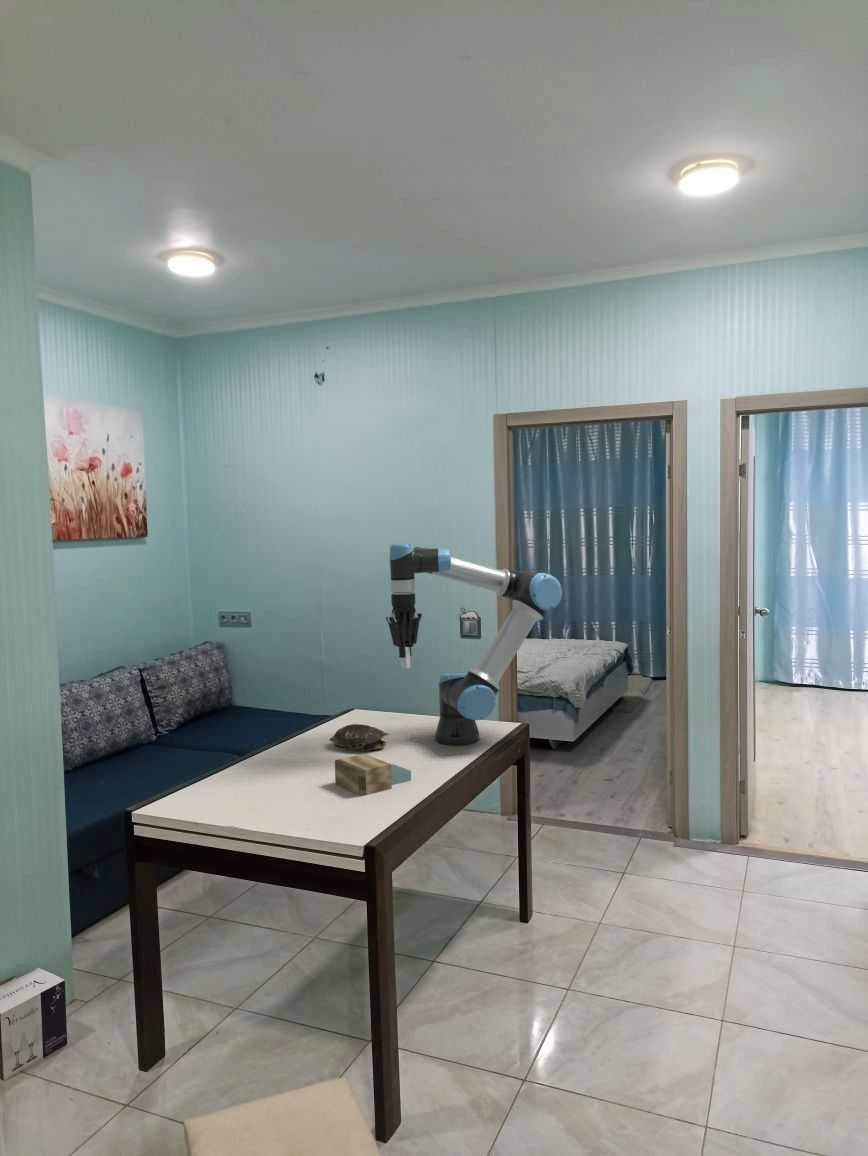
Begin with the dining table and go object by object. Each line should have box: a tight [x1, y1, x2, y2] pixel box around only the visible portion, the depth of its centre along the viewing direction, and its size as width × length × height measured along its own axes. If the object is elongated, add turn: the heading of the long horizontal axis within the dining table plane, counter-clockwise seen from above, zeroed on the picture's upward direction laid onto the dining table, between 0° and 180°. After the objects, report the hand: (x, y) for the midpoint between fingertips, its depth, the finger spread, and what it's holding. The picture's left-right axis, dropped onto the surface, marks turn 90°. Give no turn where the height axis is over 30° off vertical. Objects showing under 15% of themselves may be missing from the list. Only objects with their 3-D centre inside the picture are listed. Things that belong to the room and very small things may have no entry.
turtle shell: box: [329, 723, 390, 752], centre depth 287 cm, size 16×9×20 cm
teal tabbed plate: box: [391, 763, 412, 786], centre depth 249 cm, size 14×9×3 cm, turn 127°
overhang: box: [334, 753, 393, 797], centre depth 245 cm, size 10×14×7 cm
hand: (405, 667), depth 272 cm, fingers closed
